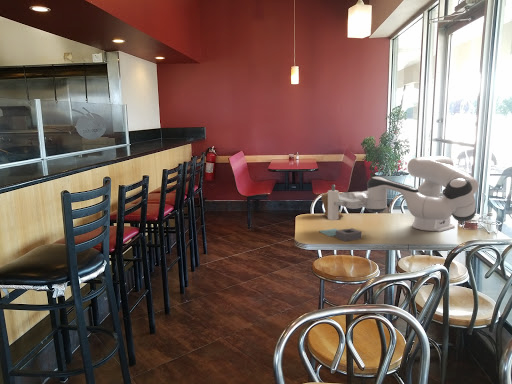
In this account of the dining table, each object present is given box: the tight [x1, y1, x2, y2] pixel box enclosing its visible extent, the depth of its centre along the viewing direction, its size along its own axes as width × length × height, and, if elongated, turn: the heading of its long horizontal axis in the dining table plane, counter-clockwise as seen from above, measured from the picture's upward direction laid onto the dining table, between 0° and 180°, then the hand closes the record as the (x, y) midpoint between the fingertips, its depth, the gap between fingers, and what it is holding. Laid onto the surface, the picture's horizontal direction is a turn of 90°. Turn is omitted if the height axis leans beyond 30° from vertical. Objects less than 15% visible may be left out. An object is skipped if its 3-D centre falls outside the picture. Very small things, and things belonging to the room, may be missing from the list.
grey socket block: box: [335, 228, 362, 242], centre depth 205 cm, size 10×8×4 cm
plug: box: [327, 184, 340, 221], centre depth 211 cm, size 4×4×18 cm
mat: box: [318, 228, 338, 238], centre depth 214 cm, size 10×10×1 cm
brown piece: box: [321, 192, 344, 219], centre depth 248 cm, size 15×12×15 cm
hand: (331, 202), depth 211 cm, fingers closed on plug, 4 cm apart
